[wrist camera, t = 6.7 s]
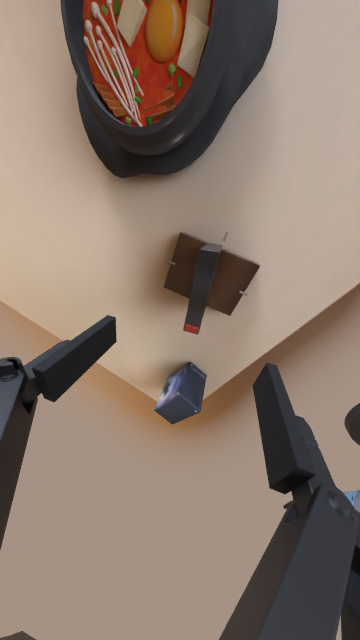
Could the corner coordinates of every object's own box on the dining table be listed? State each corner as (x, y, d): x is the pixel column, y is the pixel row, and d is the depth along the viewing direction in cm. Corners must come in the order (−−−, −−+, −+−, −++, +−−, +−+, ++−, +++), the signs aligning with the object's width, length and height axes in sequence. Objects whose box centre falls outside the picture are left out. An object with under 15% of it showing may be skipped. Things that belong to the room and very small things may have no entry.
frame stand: (270, 249, 27) (274, 250, 24) (226, 321, 35) (226, 327, 32) (185, 214, 27) (181, 212, 25) (161, 293, 35) (157, 297, 33)
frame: (208, 242, 26) (199, 248, 17) (222, 245, 26) (220, 252, 17) (194, 303, 32) (182, 331, 23) (205, 306, 31) (197, 335, 23)
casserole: (128, 212, 29) (97, 205, 22) (61, 67, 23) (-15, -8, 15) (287, 105, 19) (323, 32, 12) (249, -203, 13) (279, -745, 6)
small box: (189, 359, 42) (179, 394, 33) (207, 375, 43) (202, 412, 34) (166, 377, 48) (152, 410, 39) (182, 390, 48) (173, 426, 40)
